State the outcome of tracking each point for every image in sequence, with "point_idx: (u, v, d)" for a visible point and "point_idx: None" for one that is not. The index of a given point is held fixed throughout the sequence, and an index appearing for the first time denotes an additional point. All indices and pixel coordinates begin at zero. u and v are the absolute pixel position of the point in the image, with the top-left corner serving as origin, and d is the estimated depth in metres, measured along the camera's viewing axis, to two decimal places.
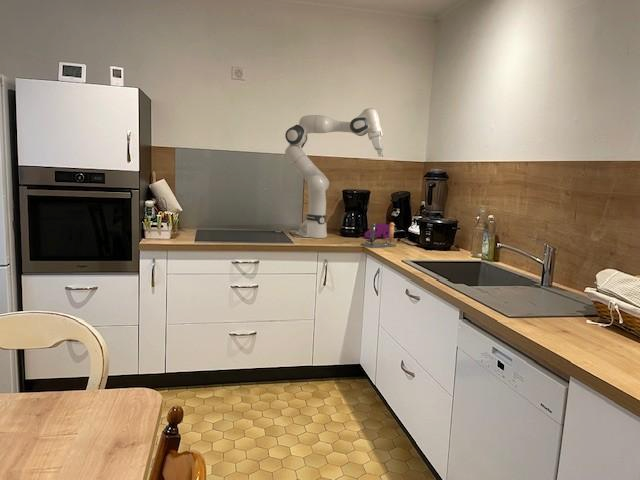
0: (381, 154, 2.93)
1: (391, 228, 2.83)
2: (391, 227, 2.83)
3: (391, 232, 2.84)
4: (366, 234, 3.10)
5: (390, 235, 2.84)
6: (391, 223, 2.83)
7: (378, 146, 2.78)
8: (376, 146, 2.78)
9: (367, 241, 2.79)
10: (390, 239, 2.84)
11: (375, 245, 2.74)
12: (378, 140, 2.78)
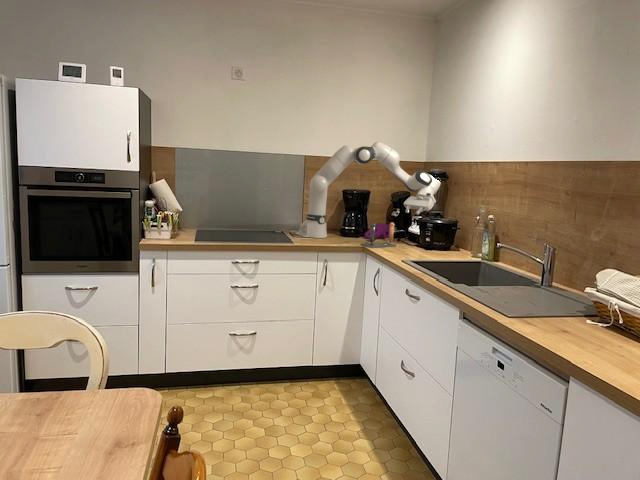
0: None
1: (391, 228, 2.83)
2: (391, 227, 2.83)
3: (391, 232, 2.84)
4: (366, 234, 3.10)
5: (390, 235, 2.84)
6: (391, 223, 2.83)
7: (429, 208, 2.87)
8: (429, 206, 2.87)
9: (367, 241, 2.79)
10: (390, 239, 2.84)
11: (375, 245, 2.74)
12: (432, 205, 2.89)
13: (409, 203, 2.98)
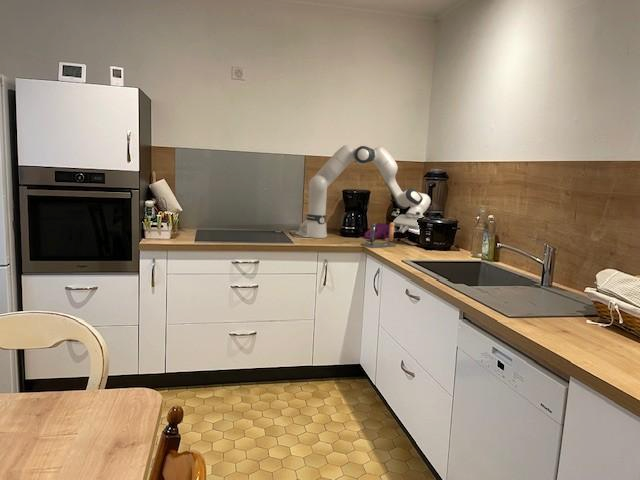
0: None
1: (391, 228, 2.83)
2: (391, 227, 2.83)
3: (391, 232, 2.84)
4: (366, 234, 3.10)
5: (390, 235, 2.84)
6: (391, 223, 2.83)
7: None
8: (418, 226, 2.84)
9: (367, 241, 2.79)
10: (390, 239, 2.84)
11: (375, 245, 2.74)
12: None
13: (398, 222, 2.95)
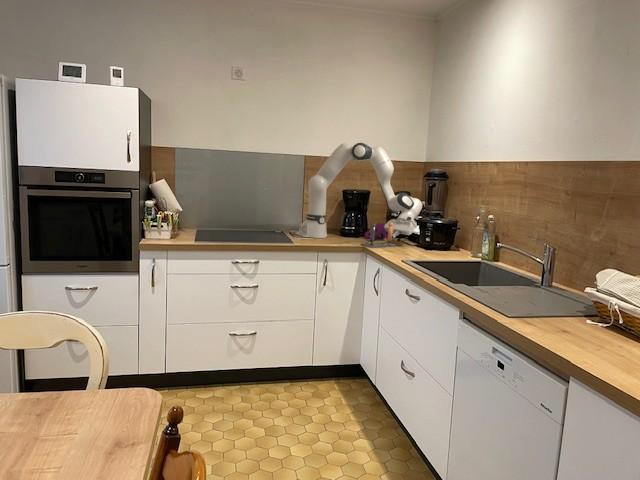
0: None
1: (390, 228, 2.83)
2: (390, 227, 2.83)
3: (390, 232, 2.83)
4: (366, 234, 3.10)
5: (389, 235, 2.83)
6: (390, 223, 2.82)
7: (410, 233, 2.80)
8: (409, 231, 2.80)
9: (367, 241, 2.79)
10: (389, 239, 2.83)
11: (375, 245, 2.74)
12: (413, 229, 2.82)
13: None
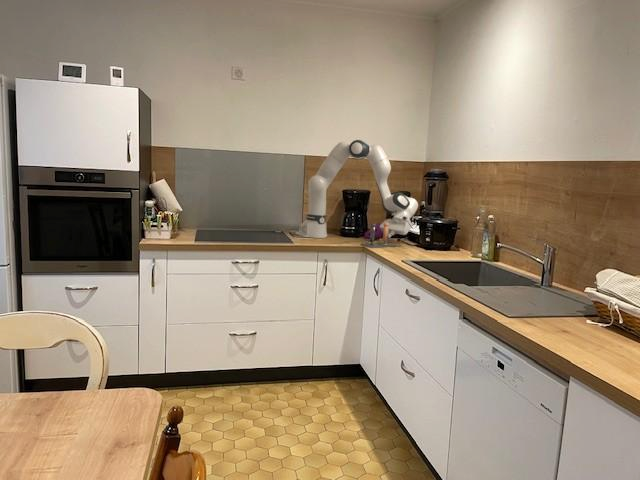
0: None
1: (385, 228, 2.80)
2: (385, 227, 2.80)
3: (385, 232, 2.81)
4: (366, 234, 3.10)
5: (384, 235, 2.81)
6: (385, 223, 2.80)
7: (405, 232, 2.78)
8: (405, 231, 2.77)
9: (367, 241, 2.79)
10: (384, 239, 2.81)
11: (375, 245, 2.74)
12: (409, 229, 2.80)
13: None
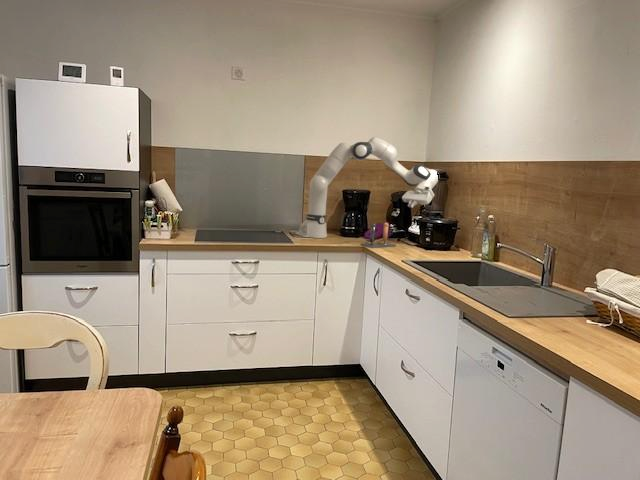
0: None
1: (385, 228, 2.80)
2: (385, 227, 2.80)
3: (385, 232, 2.81)
4: (366, 234, 3.10)
5: (384, 235, 2.81)
6: (385, 223, 2.80)
7: (428, 202, 2.86)
8: (427, 200, 2.85)
9: (367, 241, 2.79)
10: (384, 239, 2.81)
11: (375, 245, 2.74)
12: (431, 199, 2.87)
13: (407, 197, 2.96)
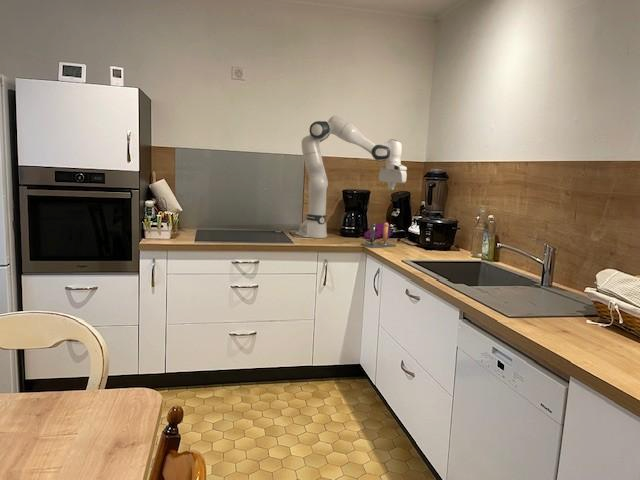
0: (390, 186, 2.91)
1: (385, 228, 2.80)
2: (385, 227, 2.80)
3: (385, 232, 2.81)
4: (366, 234, 3.10)
5: (384, 235, 2.81)
6: (385, 223, 2.80)
7: (404, 181, 2.82)
8: (403, 180, 2.81)
9: (367, 241, 2.79)
10: (384, 239, 2.81)
11: (375, 245, 2.74)
12: (405, 175, 2.82)
13: (384, 179, 2.92)
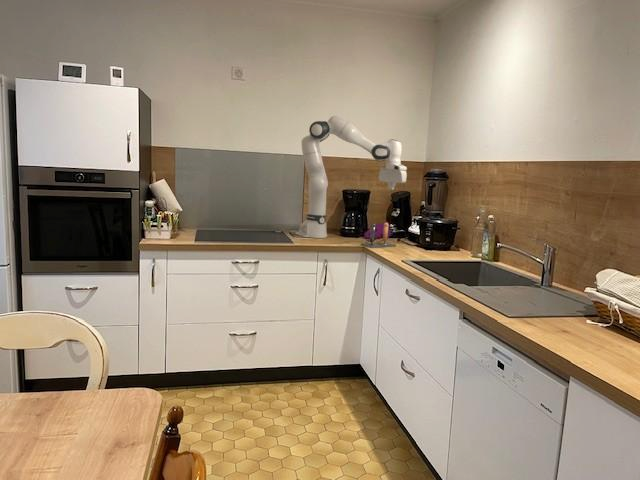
0: (390, 186, 2.91)
1: (385, 228, 2.80)
2: (385, 227, 2.80)
3: (385, 232, 2.81)
4: (366, 234, 3.10)
5: (384, 235, 2.81)
6: (385, 223, 2.80)
7: (404, 181, 2.82)
8: (403, 180, 2.81)
9: (367, 241, 2.79)
10: (384, 239, 2.81)
11: (375, 245, 2.74)
12: (405, 175, 2.82)
13: (384, 179, 2.92)
